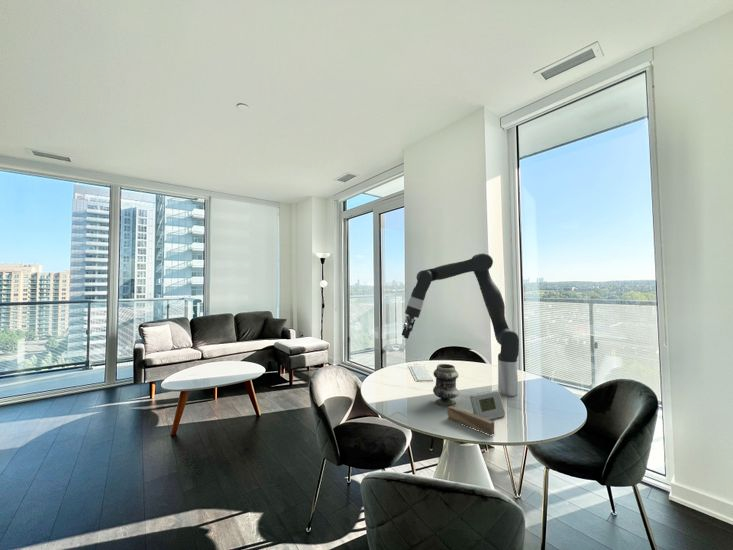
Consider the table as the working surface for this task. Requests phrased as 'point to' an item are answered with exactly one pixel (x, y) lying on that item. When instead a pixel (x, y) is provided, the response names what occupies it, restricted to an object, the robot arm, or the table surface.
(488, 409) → the digital clock
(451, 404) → the stone urn vase
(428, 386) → the table surface
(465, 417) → the walnut board
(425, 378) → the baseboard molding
